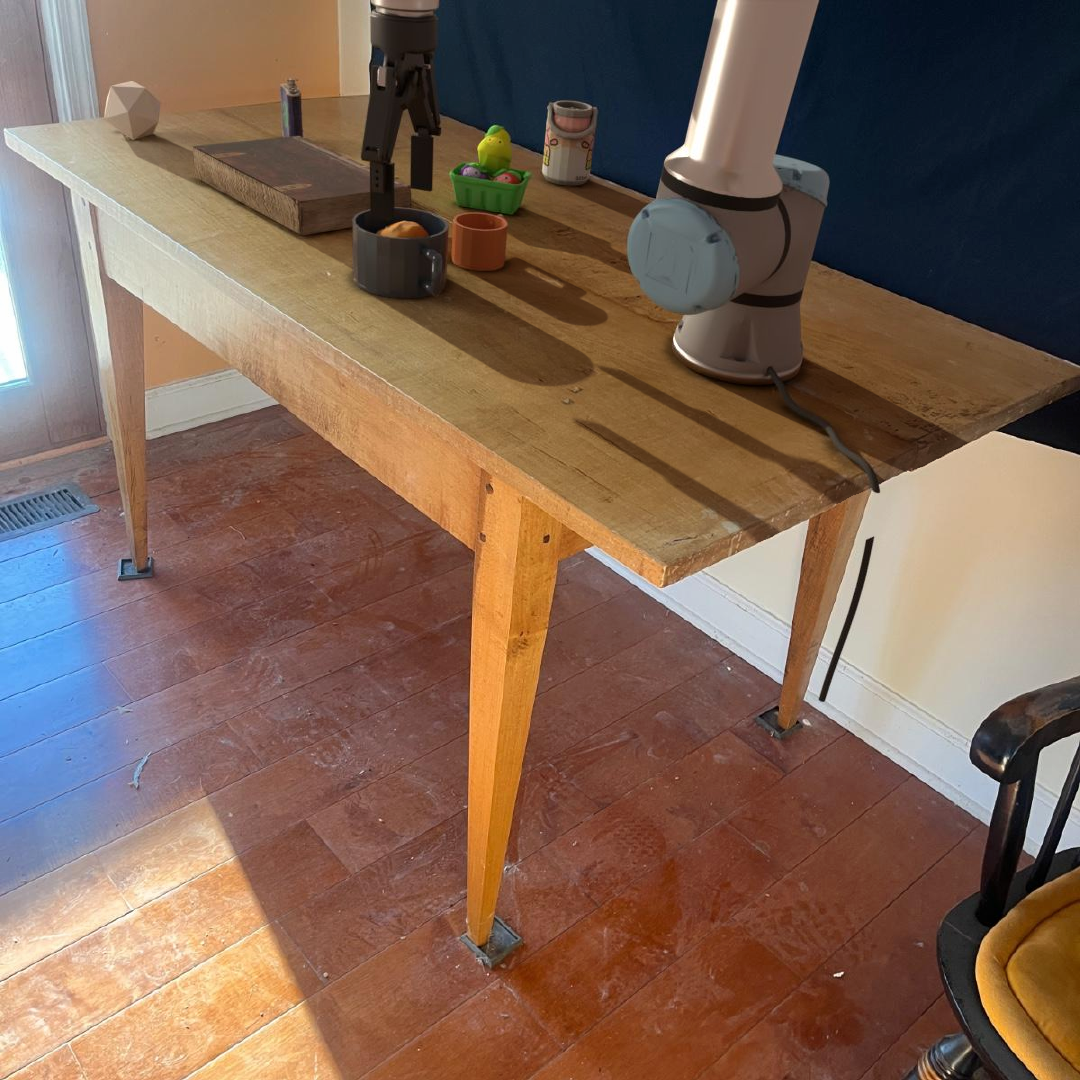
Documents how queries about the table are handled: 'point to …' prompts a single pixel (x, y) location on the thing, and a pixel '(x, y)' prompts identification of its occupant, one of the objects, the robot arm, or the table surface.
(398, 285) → the big cup
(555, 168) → the white patterned canister
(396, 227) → the fruit
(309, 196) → the hardback book
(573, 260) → the table surface
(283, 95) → the flask
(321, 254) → the table surface
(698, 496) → the table surface
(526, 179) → the fruit basket
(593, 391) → the table surface
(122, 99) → the die
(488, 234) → the small cup
